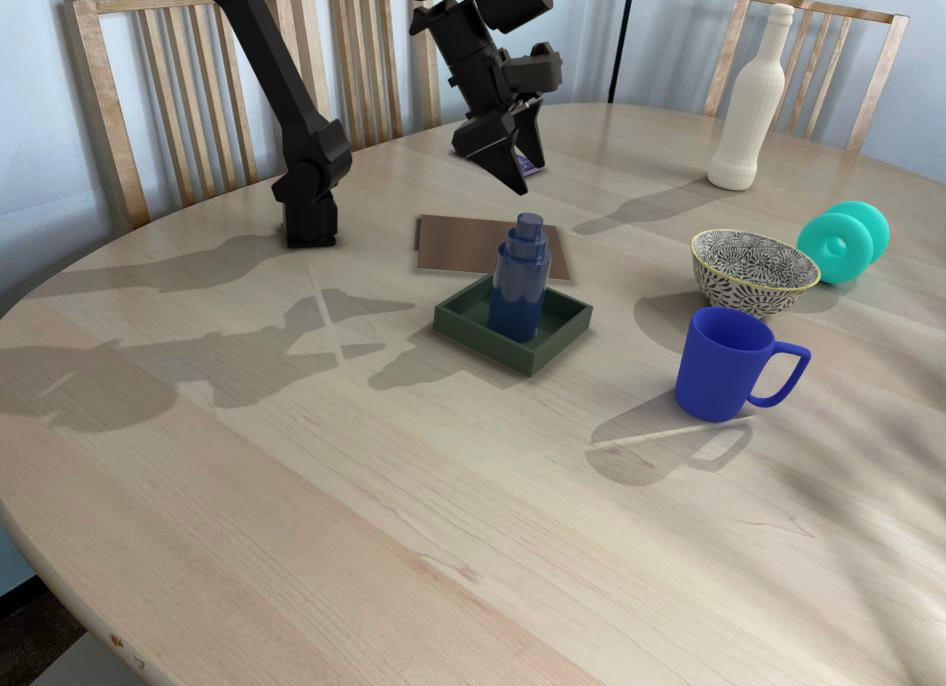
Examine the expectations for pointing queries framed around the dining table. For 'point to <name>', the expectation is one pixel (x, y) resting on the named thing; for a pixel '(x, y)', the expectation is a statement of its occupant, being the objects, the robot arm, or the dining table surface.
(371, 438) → the dining table surface
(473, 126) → the robot arm
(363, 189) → the dining table surface
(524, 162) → the smartphone
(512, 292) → the blue bottle
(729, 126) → the bottle
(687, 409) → the mug
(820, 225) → the turquoise yo-yo
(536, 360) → the tray
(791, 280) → the bowl
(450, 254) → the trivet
